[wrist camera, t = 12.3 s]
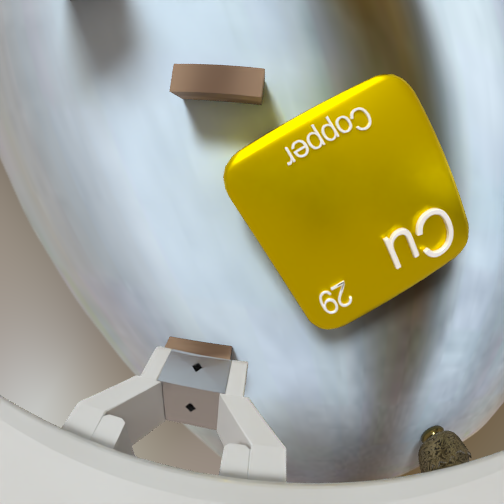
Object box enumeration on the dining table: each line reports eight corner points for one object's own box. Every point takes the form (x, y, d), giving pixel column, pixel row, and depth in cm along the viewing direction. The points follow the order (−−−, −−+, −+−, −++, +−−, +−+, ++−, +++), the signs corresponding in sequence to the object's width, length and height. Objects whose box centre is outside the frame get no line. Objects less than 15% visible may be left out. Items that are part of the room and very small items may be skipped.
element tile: (379, 76, 20) (403, 62, 15) (449, 230, 24) (478, 246, 19) (219, 165, 23) (208, 169, 18) (313, 312, 27) (321, 343, 22)
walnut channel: (264, 80, 20) (264, 68, 17) (230, 362, 28) (226, 386, 25) (186, 75, 20) (173, 64, 17) (170, 352, 28) (160, 375, 25)
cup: (460, 412, 31) (481, 449, 24) (437, 442, 34) (453, 479, 26) (423, 417, 31) (442, 461, 24) (400, 448, 34) (414, 489, 26)
